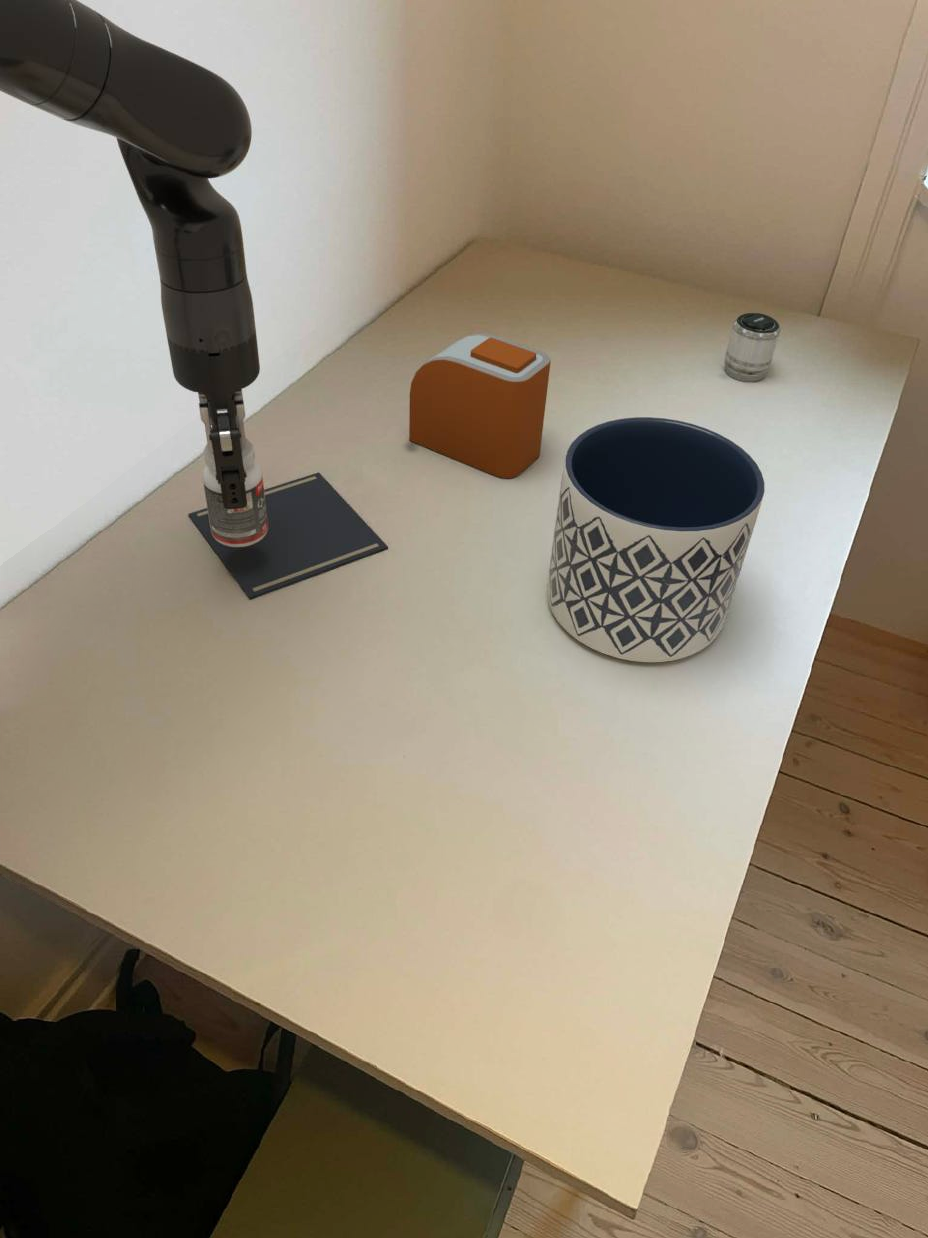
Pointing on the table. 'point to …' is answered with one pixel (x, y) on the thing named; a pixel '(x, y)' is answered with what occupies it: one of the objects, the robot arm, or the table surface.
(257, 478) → the pill bottle
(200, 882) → the table surface
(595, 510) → the planter
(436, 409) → the alarm clock
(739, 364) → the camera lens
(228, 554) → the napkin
